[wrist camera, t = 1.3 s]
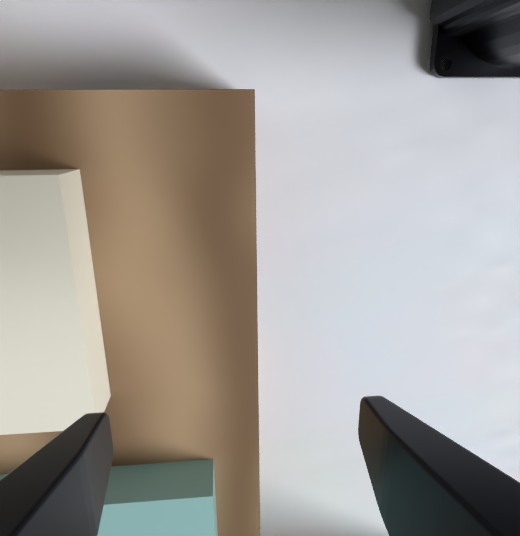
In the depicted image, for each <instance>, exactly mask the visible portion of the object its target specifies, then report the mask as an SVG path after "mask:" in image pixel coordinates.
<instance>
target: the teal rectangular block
mask: <svg viewBox="0 0 520 536" xmlns="http://www.w3.org/2000/svg"><path fill="white" fill-rule="evenodd" d="M6 475H7V474H0V480H1V479H2V478H4V477H5V476H6ZM97 536H218V534H217V515H216V496H215V477H214V459H209V460H195V461H181V462H167V463H153V464H139V465H125V466H111V470H110V475H109V480H108V485H107V490H106V495H105V500H104V506H103V511H102V516H101V521H100V526H99V530H98V535H97Z"/></svg>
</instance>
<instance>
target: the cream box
mask: <svg viewBox="0 0 520 536" xmlns="http://www.w3.org/2000/svg"><path fill="white" fill-rule="evenodd" d="M110 397H111V394H110V387H109V380H108V372H107V365H106V358H105V350H104V343H103V336H102V328H101V321H100V314H99V306H98V299H97V292H96V284H95V277H94V270H93V262H92V255H91V248H90V240H89V233H88V226H87V218H86V211H85V204H84V196H83V189H82V182H81V175H80V169H53V170H0V435H8V434H24V433H39V432H55V431H64V430H65V429H66V428H68V427H69V426H70V425H72V424H73V423H74V422H75V421H77V420H78V419H79V418H81V417H82V416H83V415H85V414H87V413H100V412H104V411H105V409H106V406H107V404H108V401H109V399H110Z"/></svg>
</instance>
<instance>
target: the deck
mask: <svg viewBox="0 0 520 536" xmlns="http://www.w3.org/2000/svg"><path fill="white" fill-rule="evenodd" d="M53 169H80V175H81V182H82V189H83V196H84V204H85V211H86V218H87V226H88V233H89V240H90V248H91V255H92V262H93V270H94V277H95V284H96V292H97V299H98V306H99V314H100V321H101V328H102V336H103V343H104V350H105V358H106V365H107V372H108V380H109V387H110V394H111V397H110V399H109V401H108V404H107V406H106V409H105V411H104V412H105V413H107V414H108V416H109V420H110V427H111V434H112V441H113V460H112V465H111V466H125V465H139V464H153V463H167V462H181V461H195V460H209V459H214V477H215V496H216V515H217V534H218V536H260V495H259V414H258V332H257V251H256V170H255V89H184V90H0V170H53ZM61 432H63V431H55V432H39V433H24V434H8V435H0V474H9V473H10V472H11V471H13V470H14V469H15V468H16V467H18V466H19V465H20V464H22V463H23V462H24V461H25V460H27V459H28V458H29V457H31V456H32V455H33V454H34V453H36V452H37V451H38V450H39V449H41V448H42V447H43V446H45V445H46V444H47V443H48V442H50V441H51V440H52V439H54V438H55V437H56V436H57V435H59V434H60V433H61Z"/></svg>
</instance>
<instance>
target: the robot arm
mask: <svg viewBox="0 0 520 536" xmlns="http://www.w3.org/2000/svg"><path fill="white" fill-rule="evenodd" d="M430 20H431V22H432V23H433V25H434V29H433V39H432V49H431V58H430V71H431V73H432V75H434V76H435V77H437V78H520V0H432V3H431V13H430ZM442 59H445V60H446V62H447V67H446V69H445V70H442V69H441V68H440V62H441V60H442ZM358 435H359V441H360V445H361V448H362V452H363V455H364V459H365V462H366V466H367V469H368V473H369V476H370V480H371V483H372V486H373V490H374V493H375V497H376V500H377V504H378V507H379V510H380V513H381V516H382V518H383V521H384V524H385V526H386V529H387V531H388V534H389V536H520V482H518V481H516V480H515V479H513V478H512V477H510V476H508V475H507V474H505V473H504V472H502V471H500V470H499V469H497V468H496V467H494V466H492V465H491V464H489V463H488V462H486V461H485V460H483V459H481V458H480V457H478V456H477V455H475V454H473V453H472V452H470V451H469V450H467V449H465V448H464V447H462V446H461V445H459V444H457V443H456V442H454V441H453V440H451V439H449V438H448V437H446V436H445V435H443V434H442V433H440V432H438V431H437V430H435V429H434V428H432V427H430V426H429V425H427V424H426V423H424V422H422V421H421V420H419V419H418V418H416V417H414V416H413V415H411V414H410V413H408V412H406V411H405V410H403V409H402V408H400V407H399V406H397V405H395V404H394V403H392V402H391V401H389V400H387V399H386V398H384V397H382V396H368V397H363V398H362V399H361V402H360V414H359V427H358ZM112 460H113V441H112V434H111V427H110V420H109V416H108V414H107V413H105V412H100V413H87V414H85V415H83V416H82V417H81V418H79V419H78V420H77V421H75V422H74V423H73V424H72V425H70V426H69V427H68V428H66V429H65V430H64V431H63V432H61V433H60V434H59V435H57V436H56V437H55V438H54V439H52V440H51V441H50V442H48V443H47V444H46V445H45V446H43V447H42V448H41V449H39V450H38V451H37V452H36V453H34V454H33V455H32V456H31V457H29V458H28V459H27V460H25V461H24V462H23V463H22V464H20V465H19V466H18V467H16V468H15V469H14V470H13V471H11V472H10V473H9V474H7V475H6V476H5V477H4V478H2V479H1V480H0V536H97V535H98V530H99V526H100V521H101V516H102V511H103V506H104V500H105V495H106V490H107V485H108V480H109V475H110V470H111V465H112Z"/></svg>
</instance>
